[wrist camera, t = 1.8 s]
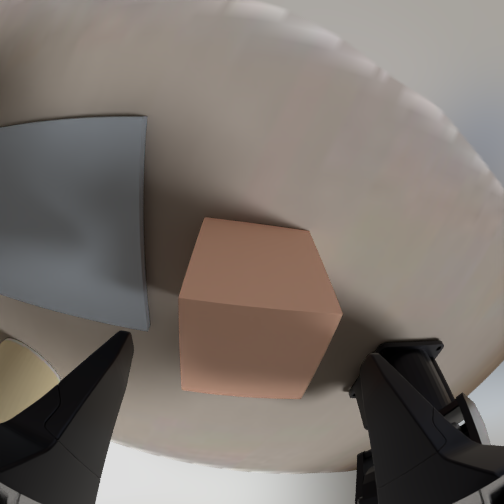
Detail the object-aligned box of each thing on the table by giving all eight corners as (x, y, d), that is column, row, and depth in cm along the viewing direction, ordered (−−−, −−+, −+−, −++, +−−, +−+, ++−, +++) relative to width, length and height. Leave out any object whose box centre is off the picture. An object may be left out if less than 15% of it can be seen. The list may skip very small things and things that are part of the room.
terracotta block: (308, 230, 14) (342, 314, 8) (286, 309, 16) (301, 398, 11) (204, 216, 13) (178, 297, 8) (198, 299, 16) (181, 389, 10)
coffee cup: (-13, 317, 17) (-69, 408, 7) (59, 354, 19) (9, 471, 8) (11, 372, 22) (-25, 449, 11) (75, 403, 23) (47, 494, 13)
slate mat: (147, 116, 11) (142, 117, 10) (150, 324, 17) (147, 331, 16) (-27, 133, 10) (-33, 135, 9) (3, 289, 15) (0, 294, 15)
